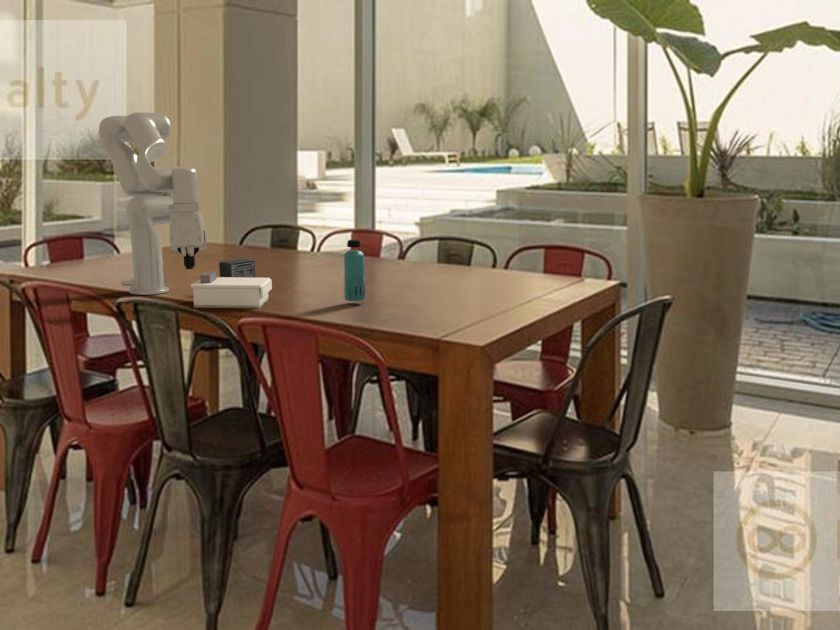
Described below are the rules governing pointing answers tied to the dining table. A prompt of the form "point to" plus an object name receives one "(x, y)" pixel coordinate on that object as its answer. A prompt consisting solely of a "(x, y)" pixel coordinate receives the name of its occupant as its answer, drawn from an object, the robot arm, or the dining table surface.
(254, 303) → the base
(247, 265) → the small box
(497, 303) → the dining table surface
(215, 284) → the lid
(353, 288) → the beverage bottle
